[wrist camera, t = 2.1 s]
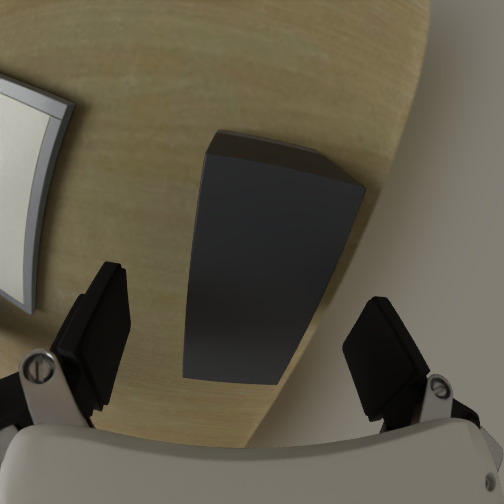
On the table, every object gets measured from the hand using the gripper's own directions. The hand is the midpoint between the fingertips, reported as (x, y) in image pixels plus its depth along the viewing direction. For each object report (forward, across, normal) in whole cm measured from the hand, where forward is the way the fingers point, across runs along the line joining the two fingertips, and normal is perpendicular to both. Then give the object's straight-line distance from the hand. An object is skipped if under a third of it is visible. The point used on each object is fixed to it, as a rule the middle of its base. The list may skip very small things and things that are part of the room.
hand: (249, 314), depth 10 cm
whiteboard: (+5, +23, -3) cm, 23 cm away
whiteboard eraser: (+5, 0, 0) cm, 5 cm away
